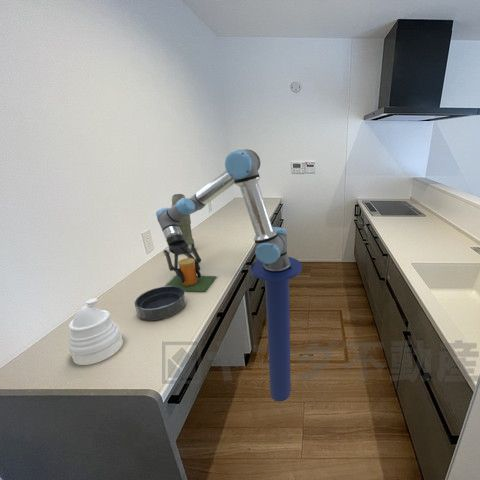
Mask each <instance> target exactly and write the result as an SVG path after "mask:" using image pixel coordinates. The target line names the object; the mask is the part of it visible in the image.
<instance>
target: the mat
mask: <svg viewBox="0 0 480 480" xmlns="http://www.w3.org/2000/svg"><path fill="white" fill-rule="evenodd" d="M216 279H217V276H215V275H201V277H200V278H198V276H197V283H195V284H193V285H189V286H185V285H183V284H182V281H181V279H180V276H179V277H177V275H176V274H175V276H174V277H173V278H172V279H171V280H170V281H169V282H167V284H165V286H177V287H180V288H182V289H183V290H184V293H186V292H187V293H188V292H189V293H190V292H191V293H206V292H207V291H208V289H209V288H210V286H211V285H212V284H213V283H214V281H215V280H216Z"/></svg>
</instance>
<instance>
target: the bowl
mask: <svg viewBox="0 0 480 480" xmlns="http://www.w3.org/2000/svg"><path fill="white" fill-rule="evenodd" d="M186 304H187V300H186V292H185V291H184V290H183V289H182V288H180V287H177V286H166V285H164V286H163V285H162V286H159V287H155V288H152V289H149V290H147V291H145V292H143V293H142V294H140V295H139V296H138V297H137V298H136V299H135V300H134V308H135V311H136V315H137V317H138V318H140V319H142V320H145V321H158V320H162V319H166V318H169V317H171V316H173V315H176V314H177V313H179V312H180V311H181V310H183V308H184V307H185V306H186Z"/></svg>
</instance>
